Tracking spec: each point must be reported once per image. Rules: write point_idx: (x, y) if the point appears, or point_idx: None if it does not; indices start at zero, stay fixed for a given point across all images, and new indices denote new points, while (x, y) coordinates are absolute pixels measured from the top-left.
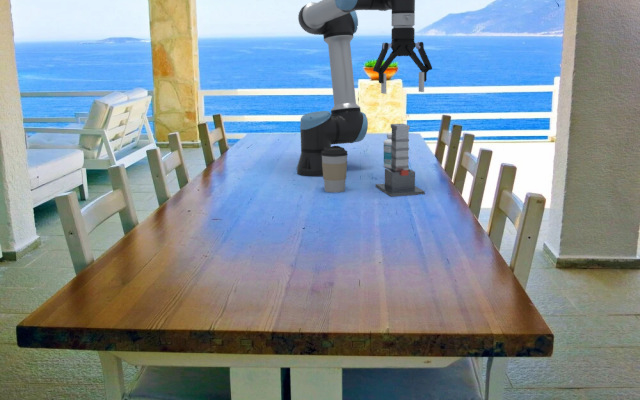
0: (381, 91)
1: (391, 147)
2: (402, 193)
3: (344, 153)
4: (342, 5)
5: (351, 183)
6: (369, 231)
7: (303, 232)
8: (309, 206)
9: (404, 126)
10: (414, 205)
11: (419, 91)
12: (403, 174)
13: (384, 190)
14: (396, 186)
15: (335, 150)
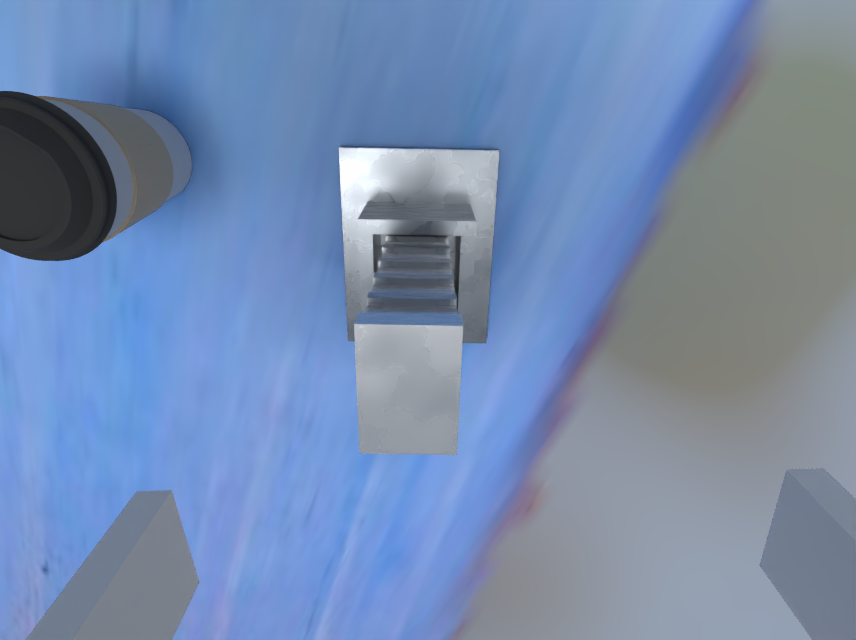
0: (125, 520)
1: (373, 281)
2: None
3: (87, 247)
4: None
5: (242, 18)
6: (204, 621)
7: (47, 594)
8: (46, 380)
9: (416, 451)
10: (389, 458)
11: (780, 498)
12: None
13: (345, 272)
14: None
15: (17, 249)
